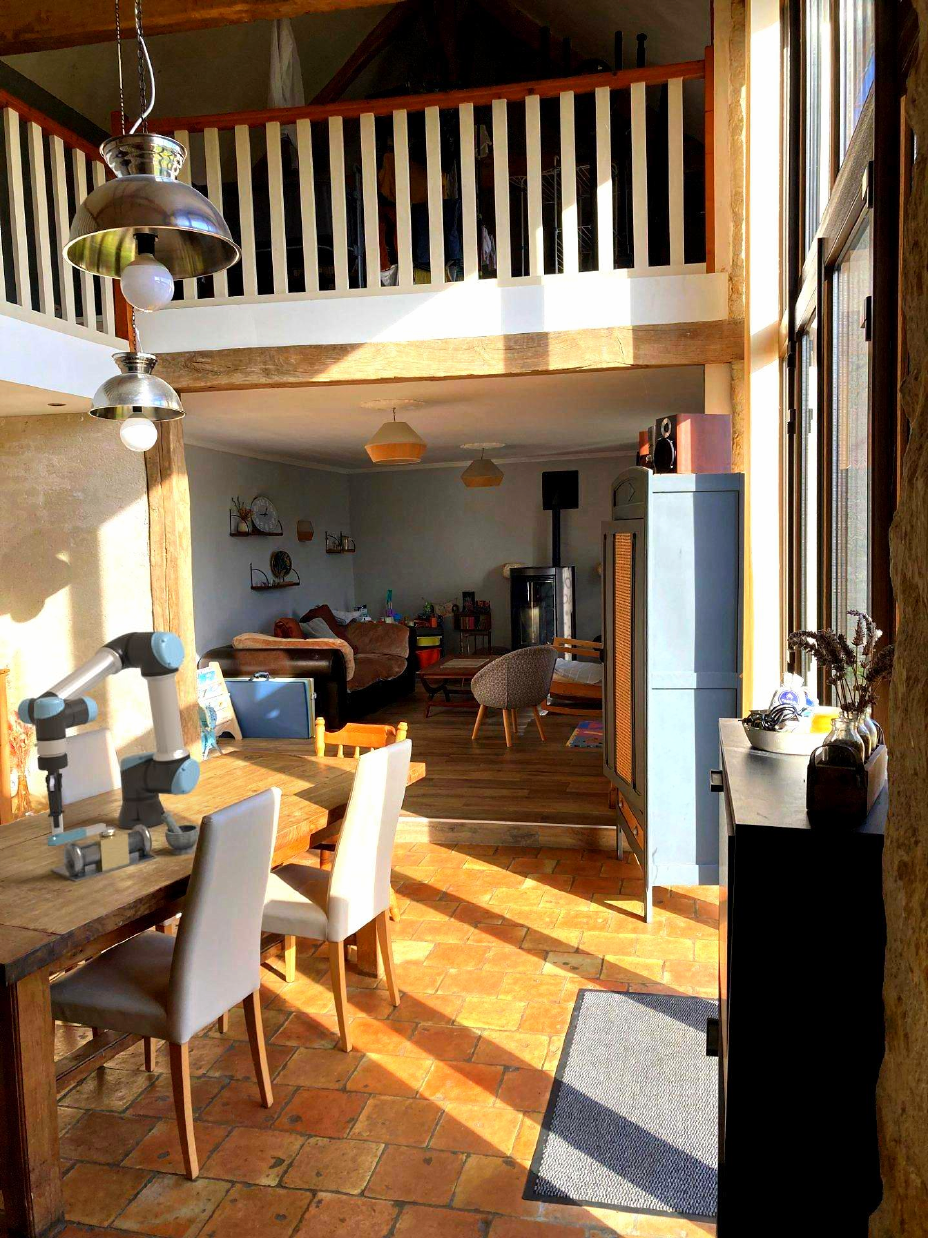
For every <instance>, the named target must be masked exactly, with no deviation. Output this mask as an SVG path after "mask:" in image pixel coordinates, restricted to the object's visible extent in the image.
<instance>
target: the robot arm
mask: <svg viewBox="0 0 928 1238" xmlns="http://www.w3.org/2000/svg"><path fill="white" fill-rule="evenodd" d="M184 658H185V648H184V645H183V642H182V640H181V639H180V638H179V636H177V635H176V634H175V633H173V632H170V631H169V632H168V631H161V630H160V631H132V632H128V633H123V634H122V635H119V636H117V637H115V638H114V639H112V640H110V641H108V642H106V643H105V644H103V645H102V646H101V647H100V648H98V649H97V650H95V654H94V656H93V657H91V658H90V659H88V660H87V661H86V662H84V663H83V664H82V665H81V666H79V667H78V668H76V669H74V670H73V671H72V672H71V673H70V674H68V675H66V676H65V677H64V678H62V679H61V680H60V681H58V682H57V683H56V684H54V685H53V686H51V688H49V689H47V690H46V691H45V692H43V693H42V694H40V695H39V696H37V697H30V698H25V699H22V701H21V702H20V703H19V705H18V707H17V716H18V718H19V721H21V722H22V723H23V724H26V725H33V726H34V727H35V728H34V729H35V740H36V743H34V744H33V746H34V748H36V752H37V753H36V754H37V755H38V757H37V769H38V770H39V771H42V772H45V771H46V772H47V774H45V775H46V776H45V778H44V781H45V784H46V785H45V787H46V791H47V799H48V800H47V801H48V808H49V813H48V814H47V817H48V818H50V823H51V835H54V834H58V833H62V832H64V822H63V814H65V809H63V808H64V806H63V799H62V797H63V794H62V791H63V790H62V788H63V783H62V781H63V773H62V772H60V770H61V769H62V770H63V769H65V768H67V767H68V766H69V761H68V760H69V759H68V753H66V752H68V743H67V731H66V730H67V729H70V728H74V727H75V728H76V727H79V726H83V725H87V724H89V723H92V722H93V721H95V720H96V718H97V717H98V713H99V711H98V710H99V709H98V705H97V703H96V701H95V700H94V699H93V698H91V697H89V696H85V695H86V694H87V693H88V692H90V691H91V690H92V689H94V688H95V687H97V686H98V685H99V684H100V683H102V682H103V681H104V680H106V679H108V677H109V676H111V675H112V676H113V675H117V674H118V673H120V672H122V671H123V670H127V669H139V670H140V676H141V677H142V678H143V679H144V680H145V681H146V682H147V683H146V684H147V691H148V698H149V704H150V705H149V706H150V711H151V717H152V727H153V731H154V732H153V733H154V741H155V748H156V752H155V751H147V752H142V753H136V754H132V755H129V756H126V757H122V759H121V761H120V765H119V766H120V768H119V770H120V771H119V775H120V785H121V797H122V798H121V800H122V802H121V807H120V810H119V814H118V817H117V826H118V827H119V828H120V829H123V830H125V829H126V830H132V829H133V828H134V826H136V825H140V824H143V825H145V826H146V827H147V828H148V829H149V828H152V827H156V826H159V825H161V824H163V823H165V821H164V819H162V818H161V816H162V815H163V814H164V813H166V811H165V809H164V806H163V804H162V802H161V799H160V794H161V795H173V796H179V795H183V796H184V795H187V794H188V795H189V794H190V793H192V791H193V790H194V789H195V788H196V786H197V784H198V782H199V780H200V775H201V768H200V767H201V766H200V764H199V762H198V761H197V760H196V759H194V758H191V752H190V750H189V749H188V748H187V747H186V746H185V744H184V742H185V741H184V736H183V730H182V729H183V728H182V721H181V714H180V706H179V705H180V704H179V698H178V691H177V684H176V678H175V677H176V675H177V674H178V673H179V671H180V670H179V669H180V667H181V666H182V664H183V663H184Z"/></svg>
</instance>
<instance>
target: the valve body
mask: <svg viewBox="0 0 928 1238" xmlns="http://www.w3.org/2000/svg"><path fill="white" fill-rule="evenodd" d="M115 831H116V834H114V835H112V836H106V837H102V836H99V833H97V834H93V835H89V836H87V837H86V839H87V843H85V844H81V845H79V844H78V843H77V842H76V841H70V842H67V843H64V844H65V845H64V847H63V849H62V859H63V864H64V865H60V866H56V867H51V868H50V870H51V872H53V873H54V874H58V875H59V876H63V877H64V878H66V879H69V880H71V881H73V882H80V881H82V880H86V879H91V878H94V877H97V876H100V875H103V874H106V873H111V872H113V871H117V870H121V869H124V868H128V867H132V866H135V865H137V864H142V863H145V862H147V861H153V860H155V859H156V858H157V856H156V855H153V854H150V853H151V851H152V848H153V847H152V845H153V840H152V836H151V835H152V834H151V833H150V830H149V827H148V828H147V827H146V826H145V825H143V824H140V825H136V826H134V828H133V829H131V831H130V832H127V833H126V832H124V831H121V830H117V829H115Z"/></svg>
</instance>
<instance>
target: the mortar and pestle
mask: <svg viewBox="0 0 928 1238" xmlns="http://www.w3.org/2000/svg"><path fill="white" fill-rule="evenodd" d="M161 818H162V819H164V821H165V822H164V823H165V825H166V827H167V828H166V830H164V834H165V835H164V836H165V840H166V843H167V844H168V846H169V847H171V848H172V854H173V855H175V856H183V855H190V854H192V853H194V851H195V845H196V844H197V841H198V838H199V837H198V835H199V836H200V826H198V825H195V824H180V825H179V824H177V822H176V821H175V819H174V818H173V817H172V814H171V812H170V811H167V812H166V811H165V813H164V814H163V815H162V816H161Z"/></svg>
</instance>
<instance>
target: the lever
mask: <svg viewBox="0 0 928 1238" xmlns="http://www.w3.org/2000/svg"><path fill="white" fill-rule="evenodd" d="M106 825H107V824H106V823H104V822H100V823H99V822H98V823H96V824H92V825H88V826H84V827H78V828H73V829H69V830H66V831H63V832H62V833H58V834H54V835H52V834H51V835H48V836H46V840H47V841H46V842H47V847H55V846H58V845H59V846H60V845H62V844H67V843H70V842H75V841H78V840H80V839H84V838H87V836H89V835H93V834H97V833H99V836H102V837H106V836H112V835H114V834H116V831H115V830H116V827H115V826H106Z"/></svg>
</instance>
